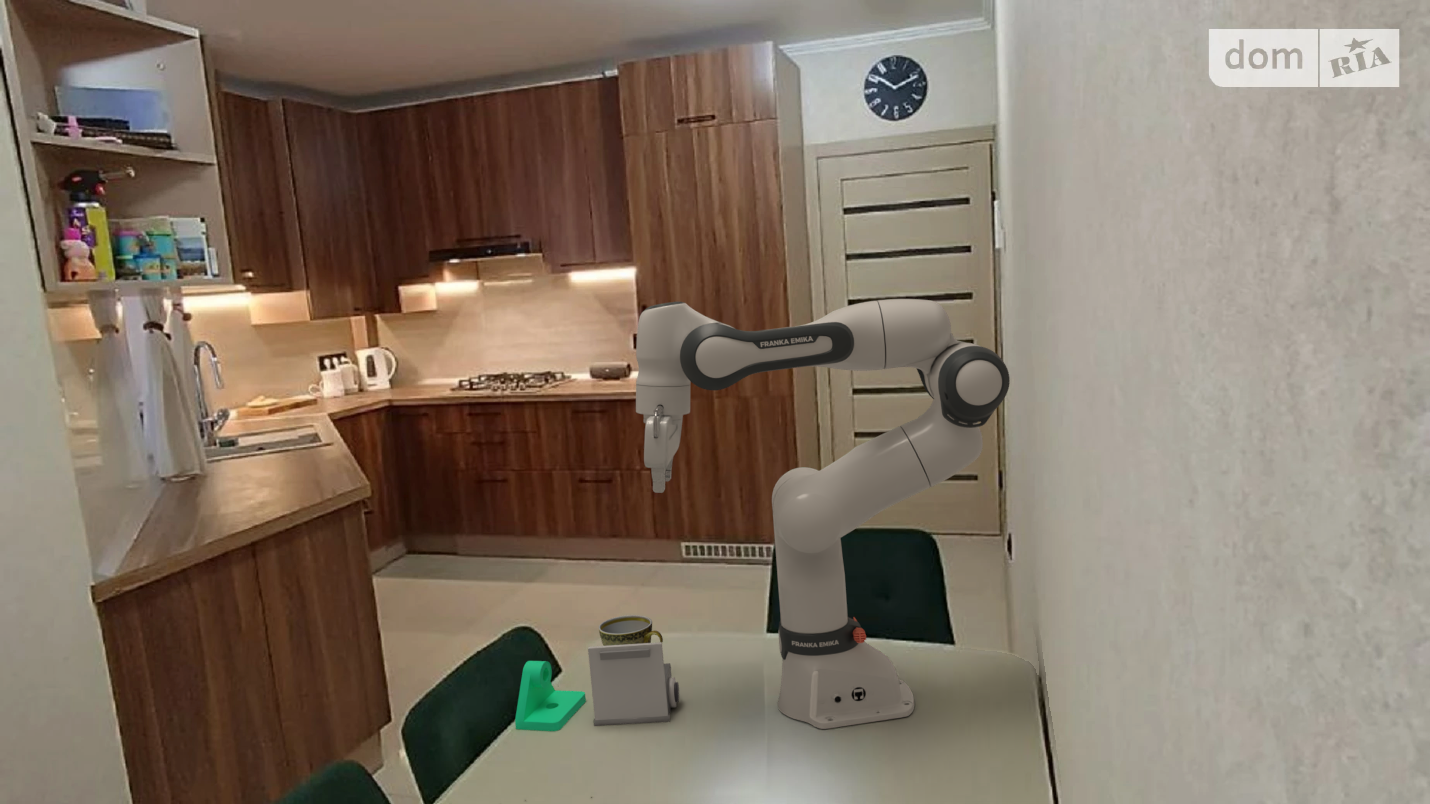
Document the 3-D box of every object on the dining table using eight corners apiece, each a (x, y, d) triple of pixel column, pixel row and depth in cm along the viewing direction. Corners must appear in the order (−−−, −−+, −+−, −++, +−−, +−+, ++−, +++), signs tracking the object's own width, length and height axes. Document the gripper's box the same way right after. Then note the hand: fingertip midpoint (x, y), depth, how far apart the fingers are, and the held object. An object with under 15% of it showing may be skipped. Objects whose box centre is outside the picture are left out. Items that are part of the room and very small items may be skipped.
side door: (670, 720, 151) (663, 641, 149) (669, 724, 149) (662, 645, 148) (595, 724, 152) (587, 646, 150) (593, 728, 150) (585, 650, 148)
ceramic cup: (592, 682, 170) (587, 630, 169) (623, 662, 179) (619, 612, 178) (651, 692, 164) (646, 638, 163) (680, 670, 173) (675, 619, 172)
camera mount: (559, 738, 150) (552, 677, 148) (516, 736, 152) (510, 676, 151) (588, 705, 161) (582, 649, 160) (548, 704, 163) (542, 648, 162)
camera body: (681, 701, 159) (678, 662, 158) (677, 722, 151) (674, 682, 150) (605, 706, 160) (601, 667, 159) (597, 727, 152) (593, 687, 151)
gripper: (676, 409, 139) (675, 499, 140) (687, 396, 159) (686, 475, 161) (634, 408, 139) (634, 498, 141) (651, 395, 160) (650, 474, 161)
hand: (662, 486), depth 151 cm, fingers open, 8 cm apart
